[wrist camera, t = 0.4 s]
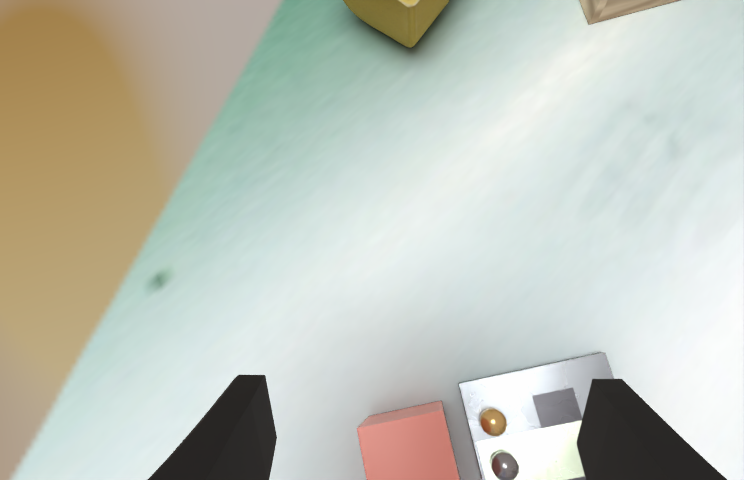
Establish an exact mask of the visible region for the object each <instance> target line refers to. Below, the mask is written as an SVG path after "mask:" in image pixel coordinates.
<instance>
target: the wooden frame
mask: <svg viewBox="0 0 744 480" xmlns="http://www.w3.org/2000/svg"><path fill="white" fill-rule="evenodd" d="M675 1H679V0H580V3H581V6H582V8H583V11H584V13H585V16H586V19H587V21H588V24H593V23H596V22H600V21H604V20H608V19H611V18H615V17H619V16H623V15H626V14H630V13H634V12H638V11H641V10H645V9H649V8H653V7H656V6H660V5H664V4H668V3H671V2H675Z"/></svg>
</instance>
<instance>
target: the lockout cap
mask: <svg viewBox="0 0 744 480" xmlns="http://www.w3.org/2000/svg"><path fill="white" fill-rule="evenodd" d="M357 432H358V437H359V442H360V447H361V452H362V458H363V463H364V468H365V473H366V478H367V480H460V476H459V472H458V468H457V464H456V460H455V455H454V451H453V447H452V443H451V439H450V434H449V430H448V426H447V422H446V418H445V413H444V409H443V405H442V401H437V402H433V403H428V404H423V405H418V406H414V407H409V408H404V409H400V410H395V411H390V412H386V413H381V414H376V415H371V416H368V418H367V419H366V420H365V421H364V422H363V423H362V424H361V425H360V426H359V427H358V428H357Z"/></svg>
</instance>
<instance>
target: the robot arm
mask: <svg viewBox="0 0 744 480" xmlns="http://www.w3.org/2000/svg"><path fill="white" fill-rule="evenodd" d="M276 439H277V436H276V431H275V426H274V420H273V415H272V410H271V404H270V399H269V394H268V388H267V383H266V378H265V375H238V376H237V377H236V378H235V379H234V380H233V381H232V382H231V384H230V385H229V386H228V387H227V389H226V390H225V391H224V392H223V394H222V395H221V396H220V397H219V399H218V400H217V401H216V402H215V404H214V405H213V406H212V407H211V408H210V410H209V411H208V412H207V413H206V415H205V416H204V417H203V418H202V419H201V421H200V422H199V423H198V424H197V425H196V427H195V428H194V429H193V430H192V431H191V432H190V433H189V435H188V436H187V437H186V438H185V439H184V440H183V442H182V443H181V444H180V445H179V446H178V447H177V448H176V450H175V451H174V452H173V453H172V454H171V455H170V456H169V458H168V459H167V460H166V461H165V462H164V463H163V464H162V465H161V466H160V467H159V468H158V469H157V470H156V472H155V473H154V474H153V475H152V476H151V477H150V478H149V479H148V480H269V477H270V472H271V467H272V461H273V456H274V450H275V444H276ZM576 444H577V448H578V452H579V455H580V459H581V463H582V467H583V471H584V474H585V478H586V480H727V479H726V478H725V477H723V476H722V475H721V474H720V473H719V472H718V471H717V470H716V469H715V468H714V467H712V466H711V465H710V464H709V463H708V462H707V461H706V460H705V459H704V458H703V457H702V456H701V455H699V454H698V453H697V452H696V451H695V450H694V449H693V448H692V447H691V446H690V445H689V444H688V443H687V442H686V441H685V440H684V439H683V438H681V437H680V436H679V435H678V434H677V433H676V432H675V431H674V430H673V429H672V428H671V427H670V426H669V425H668V424H667V423H666V422H665V421H664V420H663V419H662V418H661V417H660V416H659V415H658V414H657V413H656V412H655V411H654V410H653V409H652V408H651V407H650V406H649V405H648V404H647V403H646V402H645V401H644V400H643V399H642V398H640V397H639V396H638V395H637V394H636V393H635V392H634V391H633V390H632V389H631V388H630V387H629V386H628V385H627V384H626V383H625V382H624V381H623V380H622V379H592V382H591V386H590V390H589V394H588V398H587V402H586V406H585V410H584V414H583V418H582V422H581V426H580V430H579V434H578V438H577V442H576Z"/></svg>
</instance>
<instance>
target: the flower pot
mask: <svg viewBox="0 0 744 480" xmlns="http://www.w3.org/2000/svg"><path fill="white" fill-rule="evenodd" d="M343 1H344V2H345V4H346V5H347V6H348V8H349V9H350V10H351V11H352V12H353V13H354V14H355V15H356V16H358V17H359V18H360V19H361V20H363V21H364V22H366V23H367V24H369V25H370V26H372V27H374V28H375V29H377V30H379V31H381V32H382V33H384V34H386V35H387V36H389V37H391V38H393V39H394V40H396V41H398V42H399V43H401V44H402V45H404V46H406V47H409V48H411V47H413V46H414V45H415V44H416V43H417V42H418V41H419V39H420V38H421V37H422V35H423V34H424V33H425V31H426V30H427V29H428V28H429V26H430V25H431V24H432V22H433V21H434V20H435V19H436V17H437V16H438V15H439V13H440V12H441V11H442V10H443V8H444V7H445V6H446V5H447V3H448V2H449V1H450V0H343Z"/></svg>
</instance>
